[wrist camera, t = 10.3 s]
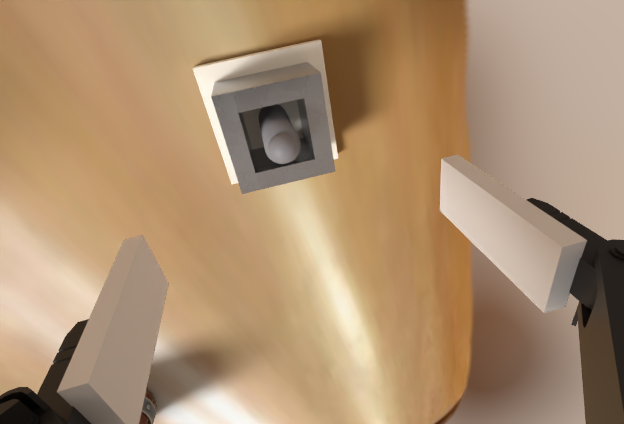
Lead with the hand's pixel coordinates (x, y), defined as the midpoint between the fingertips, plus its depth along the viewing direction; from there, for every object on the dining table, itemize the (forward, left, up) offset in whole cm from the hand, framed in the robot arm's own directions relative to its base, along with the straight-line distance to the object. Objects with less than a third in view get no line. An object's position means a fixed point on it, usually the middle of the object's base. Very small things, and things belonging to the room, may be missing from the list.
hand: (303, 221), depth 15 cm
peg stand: (0, 0, -17) cm, 17 cm away
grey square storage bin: (0, 0, -16) cm, 16 cm away
